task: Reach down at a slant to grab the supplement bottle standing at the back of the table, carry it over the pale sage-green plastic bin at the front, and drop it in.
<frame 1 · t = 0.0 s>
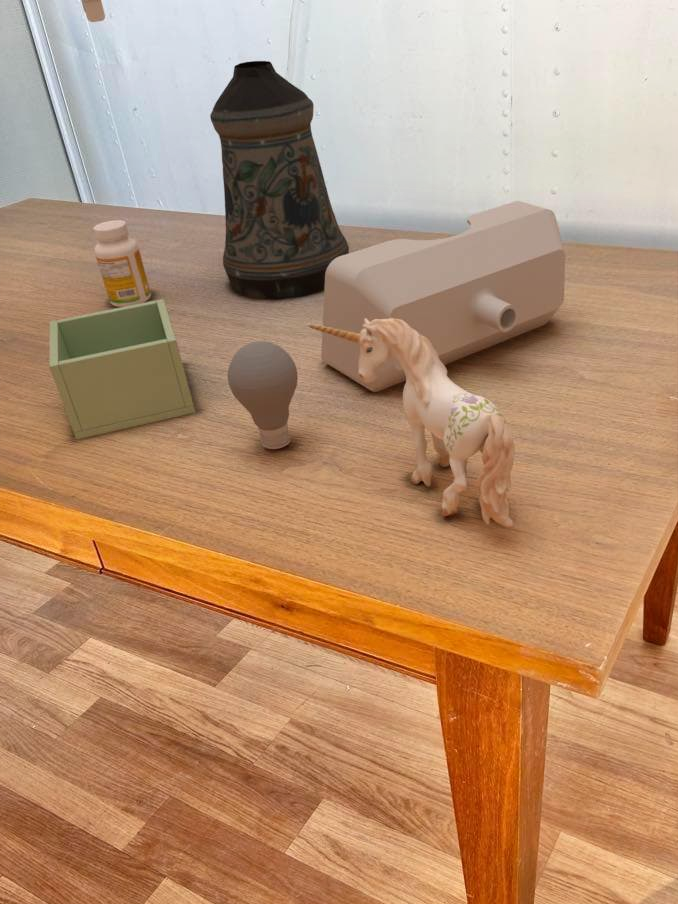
hand: (95, 17, 90), 32 cm above the table, tool pointing down, fingers open, 8 cm apart
supplement bottle: (131, 301, 111), on the table
unicorn figurine: (416, 502, 69), on the table
bin: (132, 401, 87), on the table
light bulb: (277, 447, 78), on the table
tank: (459, 355, 90), on the table
brown decorated vase: (282, 276, 114), on the table
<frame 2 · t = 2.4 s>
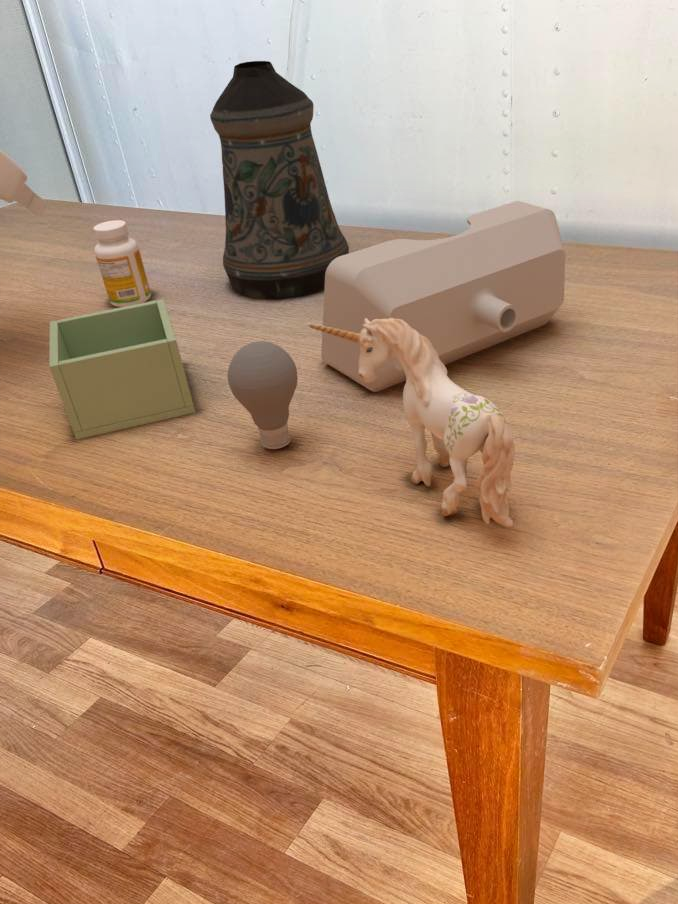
hand: (25, 200, 97), 15 cm above the table, tool tilted 40°, fingers open, 8 cm apart
nothing on the table moved.
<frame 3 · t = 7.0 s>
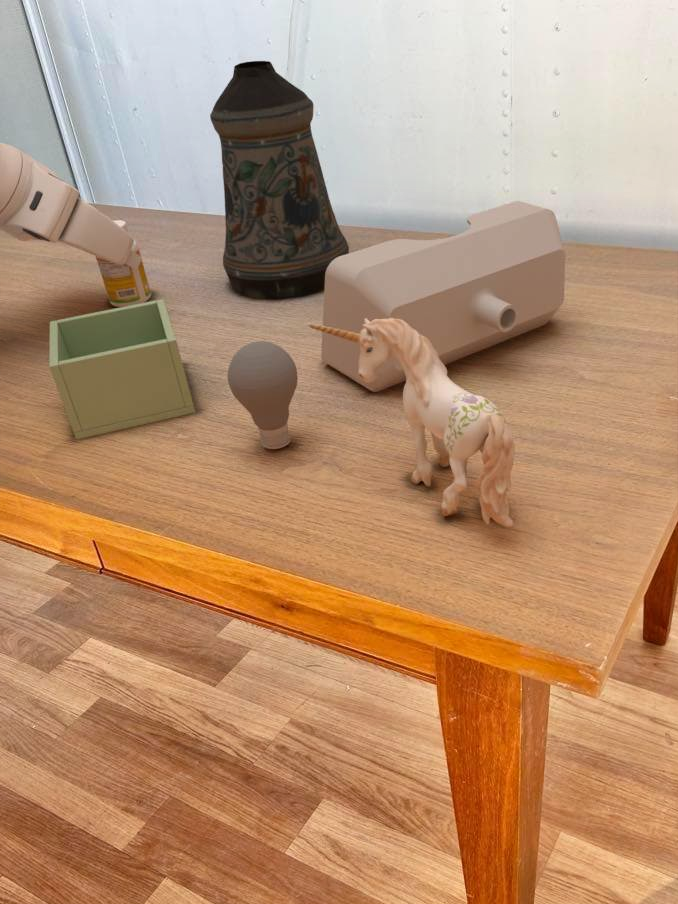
hand: (124, 257, 108), 5 cm above the table, tool tilted 45°, fingers closed on supplement bottle, 5 cm apart
supplement bottle: (131, 301, 111), on the table, touching gripper
everything else where it was.
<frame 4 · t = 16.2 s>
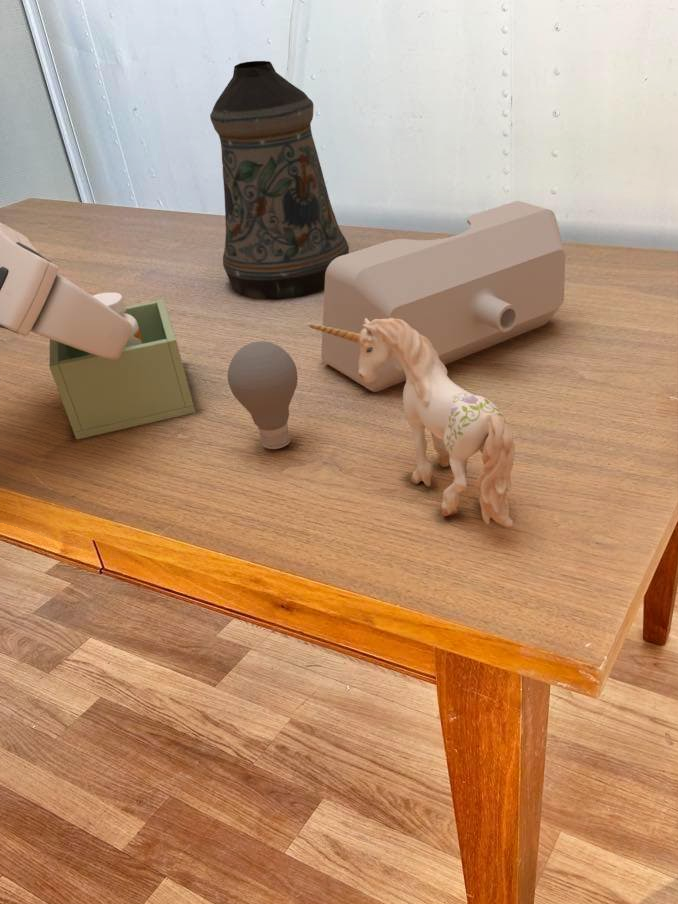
hand: (119, 340, 84), 7 cm above the table, tool tilted 45°, fingers closed on supplement bottle, 5 cm apart
supplement bottle: (129, 392, 87), point 1 cm above the table, touching gripper
everything else where it was.
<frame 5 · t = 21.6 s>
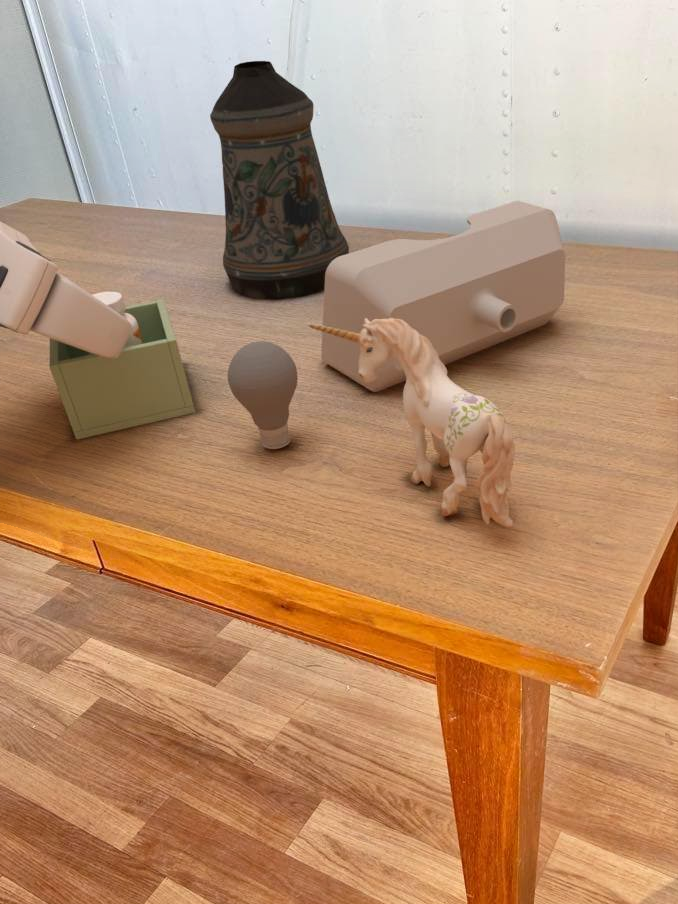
hand: (119, 339, 84), 7 cm above the table, tool tilted 45°, fingers closed on supplement bottle, 5 cm apart
supplement bottle: (129, 392, 87), point 1 cm above the table, touching gripper
everything else where it was.
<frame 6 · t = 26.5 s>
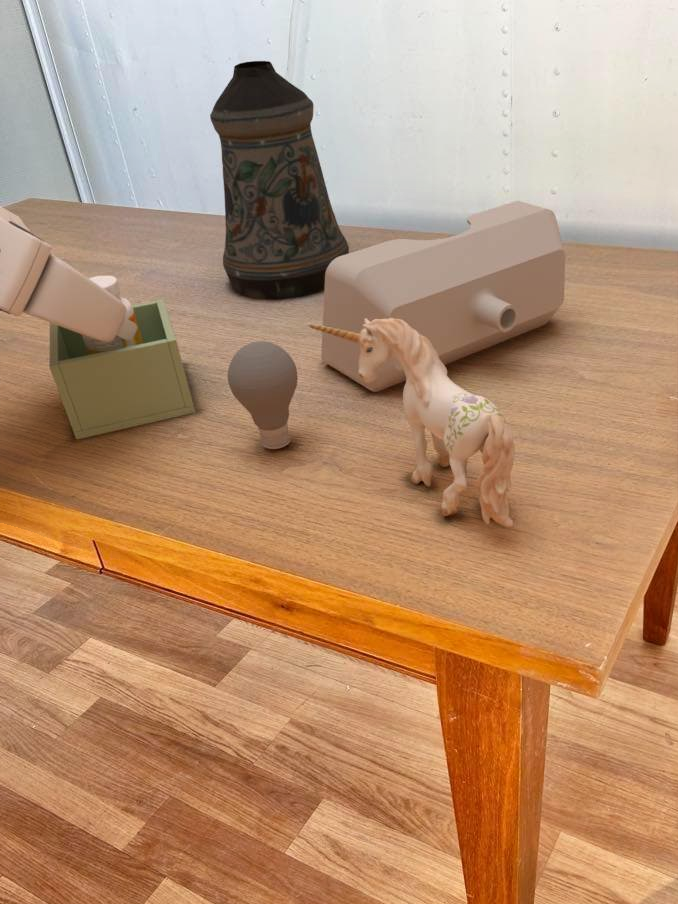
hand: (114, 324, 83), 8 cm above the table, tool tilted 45°, fingers closed on supplement bottle, 5 cm apart
supplement bottle: (125, 378, 86), point 3 cm above the table, touching gripper
everything else where it was.
when the fingers open (10 cm above the table, at t = 36.5 s): supplement bottle drops 3 cm, resting on bin.
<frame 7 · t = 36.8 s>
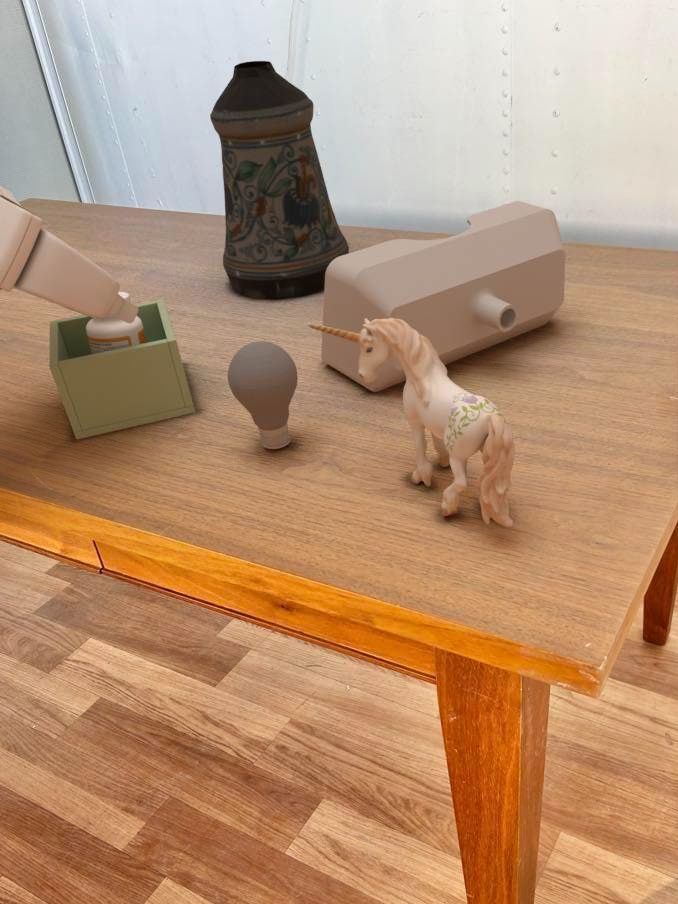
hand: (108, 303, 82), 10 cm above the table, tool tilted 45°, fingers open, 8 cm apart
supplement bottle: (129, 393, 87), point 1 cm above the table, touching bin
everything else where it was.
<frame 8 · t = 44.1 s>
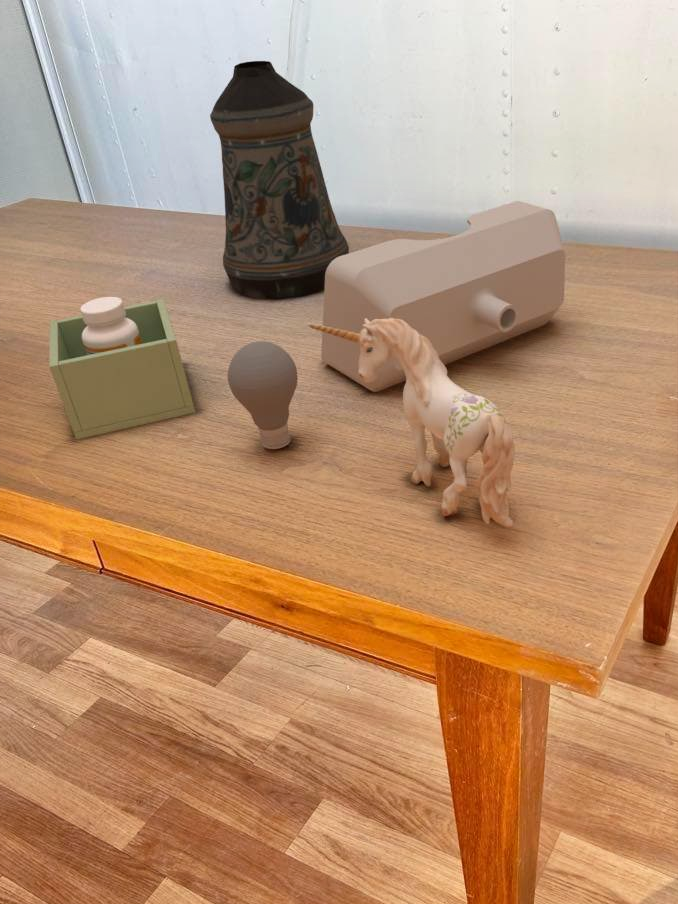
nothing on the table moved.
at the end: supplement bottle inside the target area in the bin (0.2 cm from its centre), point 0.6 cm above the bin's base; the gripper is holding nothing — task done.
